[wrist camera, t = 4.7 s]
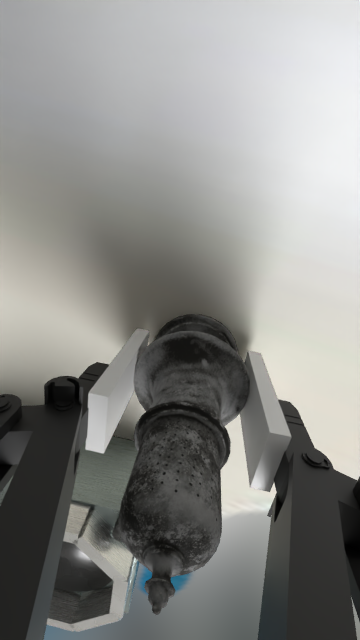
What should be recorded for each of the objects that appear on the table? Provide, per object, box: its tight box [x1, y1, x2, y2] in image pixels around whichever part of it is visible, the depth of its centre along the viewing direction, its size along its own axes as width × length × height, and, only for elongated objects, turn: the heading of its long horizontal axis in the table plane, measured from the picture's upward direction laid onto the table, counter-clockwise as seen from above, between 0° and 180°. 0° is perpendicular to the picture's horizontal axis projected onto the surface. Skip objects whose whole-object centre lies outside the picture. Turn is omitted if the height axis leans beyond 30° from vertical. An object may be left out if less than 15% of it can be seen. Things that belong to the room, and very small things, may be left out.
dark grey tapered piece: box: [118, 315, 250, 615], centre depth 11 cm, size 6×6×12 cm
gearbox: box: [0, 436, 139, 632], centre depth 19 cm, size 16×10×7 cm, turn 81°
